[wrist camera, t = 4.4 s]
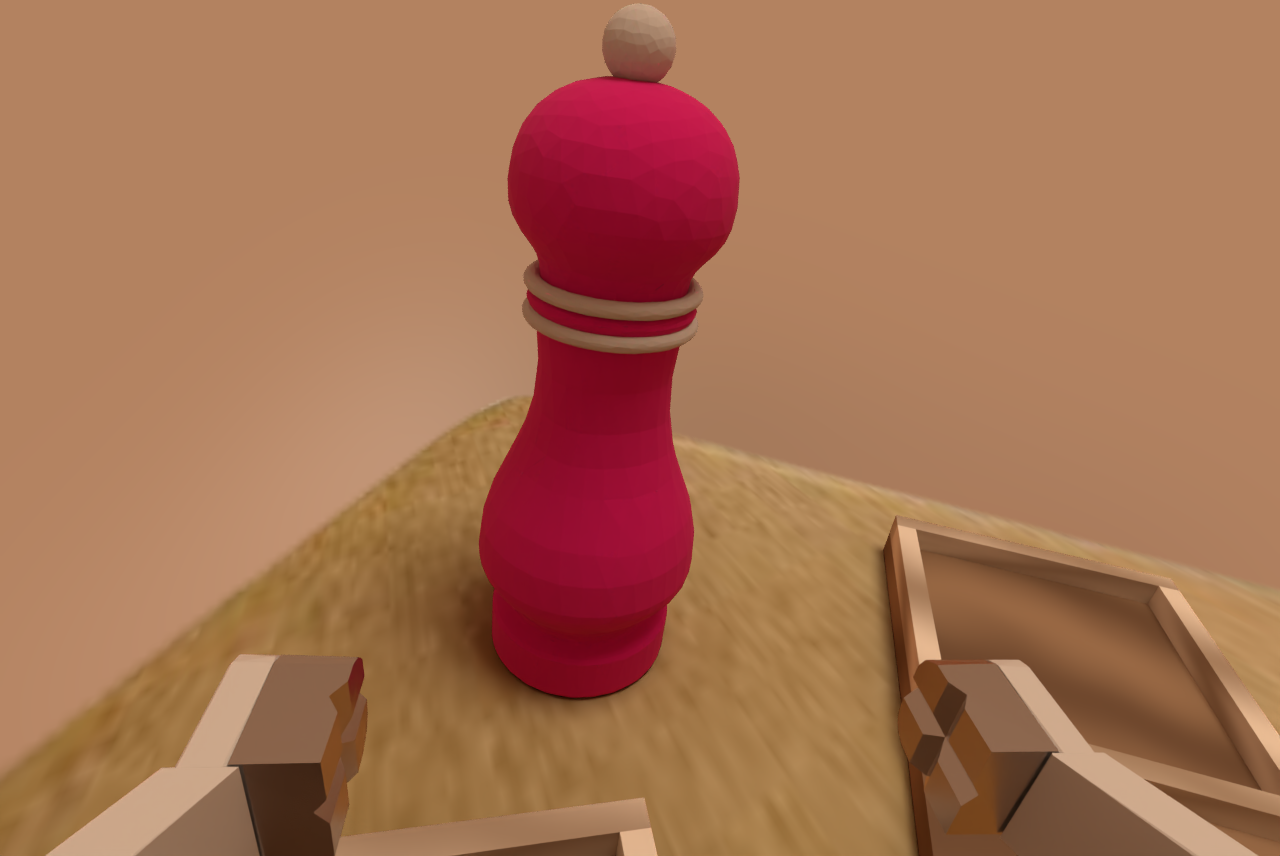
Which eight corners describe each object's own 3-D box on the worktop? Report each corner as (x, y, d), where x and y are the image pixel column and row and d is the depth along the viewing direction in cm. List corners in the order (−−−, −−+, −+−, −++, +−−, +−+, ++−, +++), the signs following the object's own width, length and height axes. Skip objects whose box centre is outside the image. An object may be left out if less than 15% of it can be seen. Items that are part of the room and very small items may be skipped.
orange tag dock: (1435, 1088, 16) (1496, 1050, 15) (927, 925, 18) (952, 882, 17) (1149, 613, 30) (1171, 578, 30) (883, 549, 32) (896, 515, 31)
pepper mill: (458, 587, 27) (453, -19, 17) (626, 552, 30) (700, 22, 20) (509, 740, 21) (545, -30, 12) (709, 678, 24) (865, 30, 15)
